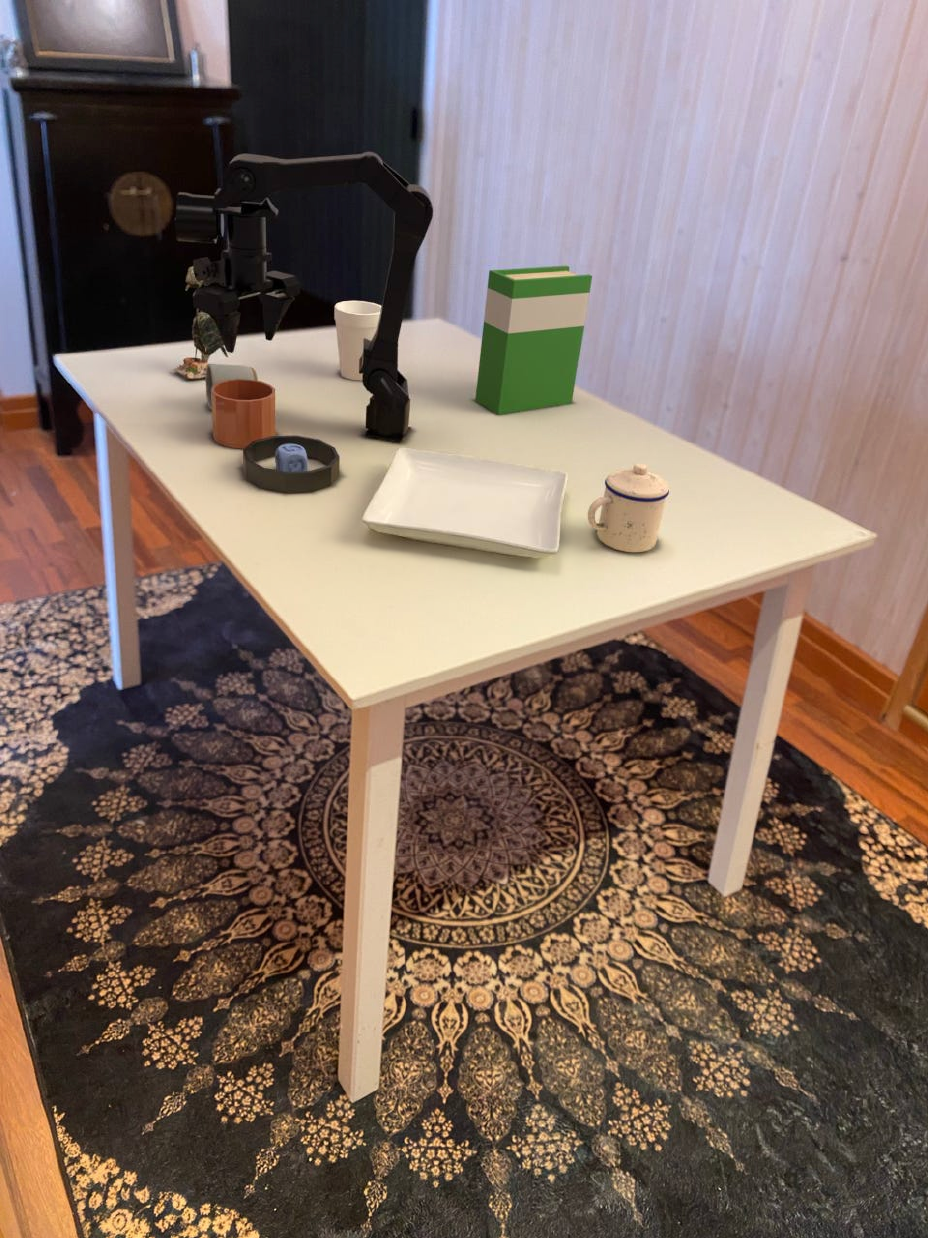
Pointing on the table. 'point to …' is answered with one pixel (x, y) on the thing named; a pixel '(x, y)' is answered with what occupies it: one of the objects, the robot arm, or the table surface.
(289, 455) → the decorative dice
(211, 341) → the plant with pod
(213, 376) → the ceramic mug
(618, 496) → the teacup with lid
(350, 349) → the foam cup
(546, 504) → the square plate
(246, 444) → the terracotta cup
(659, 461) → the table surface
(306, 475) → the dark grey ring
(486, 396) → the hardback book
